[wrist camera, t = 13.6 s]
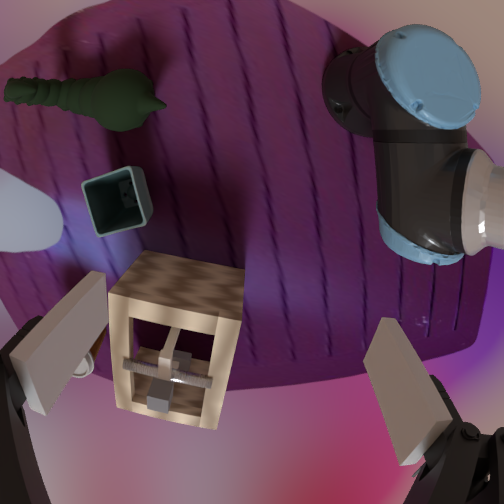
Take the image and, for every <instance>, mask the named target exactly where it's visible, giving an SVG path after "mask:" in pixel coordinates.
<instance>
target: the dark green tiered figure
mask: <svg viewBox="0 0 504 504" xmlns="http://www.w3.org/2000/svg"><path fill="white" fill-rule="evenodd" d="M4 95H5V96H4V101H5V102H9V101H12V102H13V101H14V103H15V104H16V105H19V104H21V103H27V105H28V106H31V105H33V104H35V105H38V104H41V105H44V106H54V105H57V106H58V107H60V108H61V109H62V110H63V111H67V110H70V111H72V112H73V113H75V114H79V115H81V114H82V115H84V116H89V117H92V118H95V119H96V120H97V122H98V123H99V124H100V125H102V126H103V127H104V128H107V129H109V130H113V131H121V132H122V131H127V130H131V129H133V128H136V127H137V128H138V127H141V126H142V125H143V122H144V121H145V120H146V118H147V117H148V116H149V114H150V113H151V112H152V111H156V110H161V109H164V108H166V107H167V105H166V104H165V103H164V102H162V101H161V100H159V99H158V98H156V97H155V94H154V89H153V81H152V80H150V79H148V78H147V77H146V76H145V75H144V74H143V73H141V72H140V71H138V70H134V69H118V70H115V71H112V72H110V73H108V74H107V75H105V76H100V77H96V78H95V77H94V78H91V79H89V78H83V79H79V80H77V81H76V80H75V79H73V78H71V79H68V80H64V81H62V82H61V81H60V80H57V79H50V80H45V79H38V78H37V77H34V78H33V79H31V78H26V77H21V78H20V79H18V78H17V79H14V78H10V79H8V81H7V85H6V86H5V89H4Z"/></svg>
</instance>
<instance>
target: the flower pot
mask: <svg viewBox="0 0 504 504" xmlns="http://www.w3.org/2000/svg"><path fill="white" fill-rule="evenodd" d="M130 182H133V184H130ZM81 186H82V190H83V194H84V197H85V201H86V204H87V207H88V211H89V214H90V217H91V221H92V224H93V227H94V230H95V233H96V235H97V237H103V236H106V235H110V234H114V233H117V232H121V231H125V230H129V229H133V228H137V227H142V226H145V225H146V224H147V222H148V221H149V219H150V218H151V216H152V214H153V205H152V201H151V198H150V194H149V191H148V187H147V183H146V179H145V175H144V172H143V170H142V168H140V167H138V166H126V167H123V168H120V169H117V170H115V171H112V172H109V173H106V174H103V175H101V176H98V177H95V178H92V179H89V180H86V181H84V182H82V184H81ZM125 193H126V194H127V196H125V195H124V194H125ZM135 200H137V201H138V202H137V203H136V202H135Z"/></svg>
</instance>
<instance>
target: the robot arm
mask: <svg viewBox="0 0 504 504" xmlns="http://www.w3.org/2000/svg"><path fill="white" fill-rule="evenodd" d="M322 94H323V99H324V102H325V105H326V107H327V109H328V111H329V113H330V114H331V116H332V117H333V118H334V120H335V121H336V122H337V123H338V124H339V125H341V126H342V127H343V128H344V129H346V130H348V131H349V132H351V133H353V134H356V135H359V136H363V137H373V143H374V153H375V165H376V178H377V194H378V200H377V202H376V210H377V213H378V216H379V229H380V234H381V236H382V239H383V240H384V242H385V243H386V244H387V246H388V247H389V248H390V249H392V250H393V251H394V252H396V253H397V254H399V255H401V256H403V257H405V258H407V259H410V260H413V261H415V262H419V263H424V264H430V265H431V264H432V263H433V262H434V263H437V264H438V265H448V264H452V263H455V262H457V261H459V260H460V259H461V258H462V257H463V255H464V254H467V255H475V254H476V253H477V252H479V251H480V250H481V249H483V248H484V247H486V246H492V247H496V248H500V249H503V250H504V167H501V166H496V165H495V164H494V163H493V162H492V161H491V160H490V158H489V157H488V156H487V154H486V153H485V152H484V151H483V150H479V149H470V148H468V145H467V132H466V124H467V123H468V122H469V121H471V120H472V119H473V118H474V116H475V110H476V109H478V108H479V105H480V100H481V88H480V81H479V78H478V74H477V72H476V69H475V67H474V65H473V63H472V61H471V59H470V58H469V56H468V55H467V53H466V52H465V51H464V50H463V48H462V47H460V46H458V45H457V44H456V43H455V42H454V40H453V39H452V38H451V37H450V36H448V35H447V34H445V33H444V32H442V31H440V30H438V29H436V28H433V27H430V26H427V25H420V24H412V25H407V26H404V27H401V28H399V29H396V30H392V31H391V32H388V33H386V34H385V35H383V36H382V37H381V38H380V40H378V41H377V42H375V43H374V44H373V45H371V46H370V47H355V48H351V49H348V50H346V51H344V52H342V53H340V54H339V55H338V56H337V57H336V58H334V59H333V60H332V61H331V62H330V64H329V65H328V67H327V68H326V70H325V73H324V76H323V81H322ZM108 322H109V321H108V309H107V294H106V275H105V273H101V272H96V271H91V272H90V273H88V274H87V275H86V276H85V277H84V278H83V279H82V280H81V281H80V282H79V283H78V284H77V285H76V286H75V287H74V288H73V289H72V290H71V291H70V292H69V293H68V294H67V295H65V296H64V297H63V298H62V299H61V300H60V301H59V302H58V303H57V304H56V305H55V306H54V307H53V308H52V309H51V310H50V311H49V313H48V314H47V315H46V316H45V317H42V316H39V315H38V316H37V317H35V318H33V319H31V320H29V321H28V322H27V323H26V324H25V325H24V326H23V327H22V329H20V330H19V331H18V332H17V333H16V335H14V336H13V337H12V338H11V339H10V340H9V341H8V342H7V343H6V345H5V346H4V347H3V348H2V349H1V350H0V504H51V502H50V499H49V496H48V494H47V491H46V488H45V485H44V483H43V480H42V476H41V473H40V470H39V467H38V464H37V461H36V457H35V453H34V450H33V446H32V442H31V438H30V434H29V430H28V426H27V421H26V416H25V412H24V409H23V406H22V405H23V403H24V402H25V400H26V399H27V401H28V404H29V406H30V408H31V409H32V410H34V411H36V412H38V413H40V414H43V415H45V416H47V415H48V413H49V411H50V410H51V408H52V407H53V405H54V403H55V402H56V400H57V399H58V397H59V395H60V394H61V392H62V390H63V389H64V387H65V386H66V384H67V383H68V381H69V380H70V378H71V377H72V375H73V373H74V372H75V370H76V369H77V367H78V366H79V364H80V363H81V361H82V360H83V358H84V357H85V355H86V354H87V352H88V351H89V350H90V348H91V347H92V345H93V344H94V342H95V341H96V339H97V338H98V336H99V335H100V334H101V332H102V331H103V329H104V328H105V326H106V325H107V324H108ZM363 362H364V365H365V368H366V370H367V373H368V375H369V378H370V381H371V383H372V386H373V389H374V392H375V394H376V397H377V400H378V403H379V406H380V408H381V411H382V414H383V417H384V420H385V422H386V426H387V429H388V432H389V434H390V437H391V440H392V444H393V447H394V450H395V453H396V456H397V459H398V462H399V465H400V466H402V465H409V464H416V463H417V461H418V460H419V459H420V458H421V457H422V456H423V455H424V457H425V460H426V462H425V463H424V464H423V465H422V466H421V467H420V468H419V469H418V470H417V471H416V472H415V473H414V474H413V476H412V477H415V476H416V475H417V474H418V475H417V477H416V480H415V481H414V484H413V485H412V487H411V490H410V491H409V493H408V495H407V497H406V499H405V501H404V503H403V504H504V427H500V428H498V429H497V430H496V432H495V433H494V434H493V435H484V434H481V433H480V431H479V429H478V428H477V427H476V426H474V425H473V424H471V423H468V422H463V421H462V419H461V417H460V415H459V413H458V412H457V410H456V408H455V406H454V404H453V402H452V401H451V399H449V398H450V397H449V395H448V394H447V392H446V390H445V388H444V386H443V385H442V383H441V382H440V381H439V380H438V379H437V378H436V377H435V376H434V375H429V374H428V372H427V371H426V369H425V367H424V365H423V364H422V362H421V360H420V359H419V357H418V355H417V353H416V352H415V350H414V348H413V347H412V345H411V343H410V342H409V340H408V338H407V337H406V335H405V334H404V332H403V330H402V329H401V327H400V325H399V324H398V322H397V321H396V319H394V318H384V317H382V318H381V321H380V323H379V326H378V328H377V331H376V333H375V335H374V338H373V340H372V342H371V345H370V347H369V349H368V351H367V354H366V356H365V358H364V360H363ZM489 474H490V480H489V481H488V475H489Z"/></svg>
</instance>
